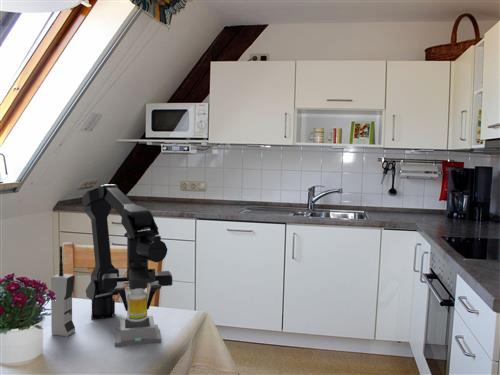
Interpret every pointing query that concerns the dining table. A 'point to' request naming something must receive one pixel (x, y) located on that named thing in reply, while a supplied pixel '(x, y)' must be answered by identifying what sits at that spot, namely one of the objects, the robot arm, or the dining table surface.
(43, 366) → the dining table surface
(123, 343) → the charging dock
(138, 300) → the supplement bottle
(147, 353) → the dining table surface
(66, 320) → the vintage mobile phone
